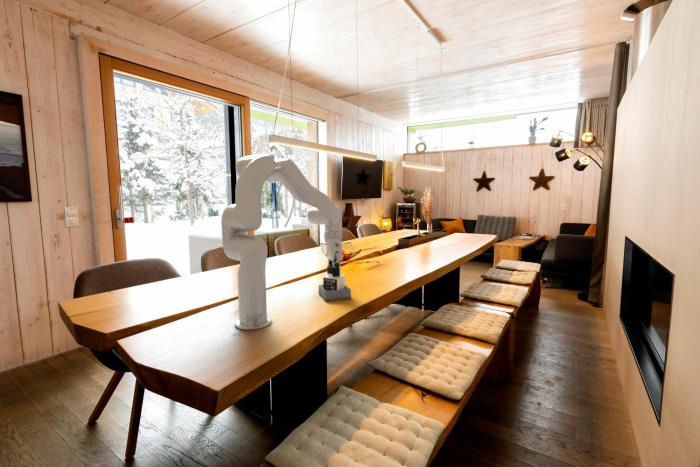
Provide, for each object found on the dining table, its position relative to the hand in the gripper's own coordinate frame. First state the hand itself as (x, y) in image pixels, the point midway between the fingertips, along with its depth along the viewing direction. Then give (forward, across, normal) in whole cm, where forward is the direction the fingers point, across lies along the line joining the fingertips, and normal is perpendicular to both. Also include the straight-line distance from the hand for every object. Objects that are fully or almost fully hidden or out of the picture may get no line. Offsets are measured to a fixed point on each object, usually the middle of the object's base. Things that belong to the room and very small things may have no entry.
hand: (333, 274), depth 156 cm
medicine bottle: (+8, 0, 0) cm, 8 cm away
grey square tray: (+10, 0, 0) cm, 10 cm away
